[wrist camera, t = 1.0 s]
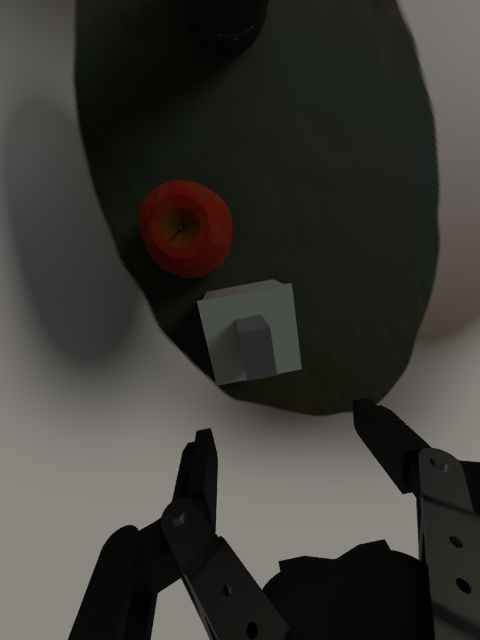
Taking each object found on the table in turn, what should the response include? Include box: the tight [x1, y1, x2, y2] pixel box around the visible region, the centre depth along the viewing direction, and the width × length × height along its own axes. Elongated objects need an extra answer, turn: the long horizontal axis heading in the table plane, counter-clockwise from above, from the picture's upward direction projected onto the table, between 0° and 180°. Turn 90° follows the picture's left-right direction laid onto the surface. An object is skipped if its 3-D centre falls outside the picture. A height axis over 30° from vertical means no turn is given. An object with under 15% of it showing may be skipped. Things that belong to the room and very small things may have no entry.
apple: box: [139, 180, 233, 278], centre depth 27 cm, size 11×11×11 cm
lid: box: [197, 283, 301, 386], centre depth 26 cm, size 11×11×7 cm
